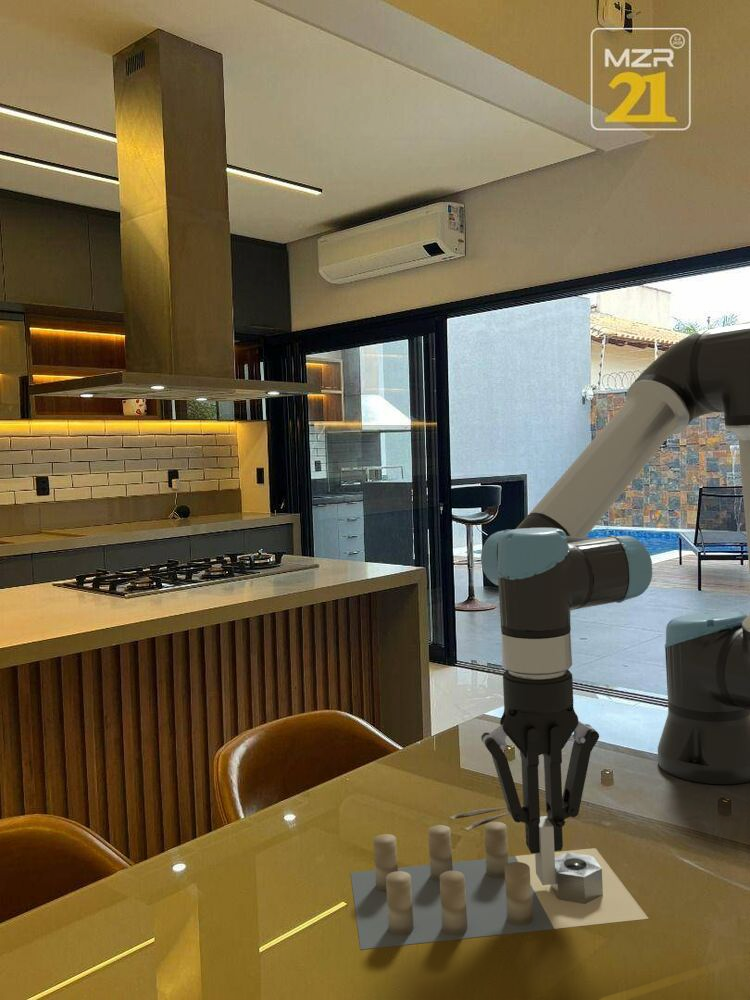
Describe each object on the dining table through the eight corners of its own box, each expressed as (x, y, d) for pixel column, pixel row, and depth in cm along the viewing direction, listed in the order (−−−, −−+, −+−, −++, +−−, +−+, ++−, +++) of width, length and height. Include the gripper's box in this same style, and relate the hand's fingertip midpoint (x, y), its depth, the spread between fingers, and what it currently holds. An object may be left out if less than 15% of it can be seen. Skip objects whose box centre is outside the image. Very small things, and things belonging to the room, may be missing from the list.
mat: (595, 852, 106) (595, 848, 106) (648, 924, 90) (648, 918, 90) (350, 877, 103) (350, 872, 103) (360, 955, 87) (360, 949, 87)
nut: (589, 875, 99) (588, 849, 99) (607, 901, 93) (606, 873, 93) (546, 879, 99) (545, 853, 99) (562, 906, 93) (561, 878, 93)
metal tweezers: (462, 840, 112) (462, 825, 112) (443, 827, 116) (443, 812, 116) (570, 818, 120) (570, 803, 120) (549, 806, 124) (549, 792, 124)
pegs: (504, 864, 103) (502, 819, 103) (536, 926, 89) (534, 875, 89) (374, 877, 102) (371, 831, 101) (386, 942, 88) (383, 890, 88)
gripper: (583, 657, 99) (591, 857, 101) (471, 665, 98) (481, 867, 100) (606, 674, 92) (614, 889, 93) (486, 683, 91) (496, 901, 92)
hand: (545, 878), depth 96 cm, fingers closed
